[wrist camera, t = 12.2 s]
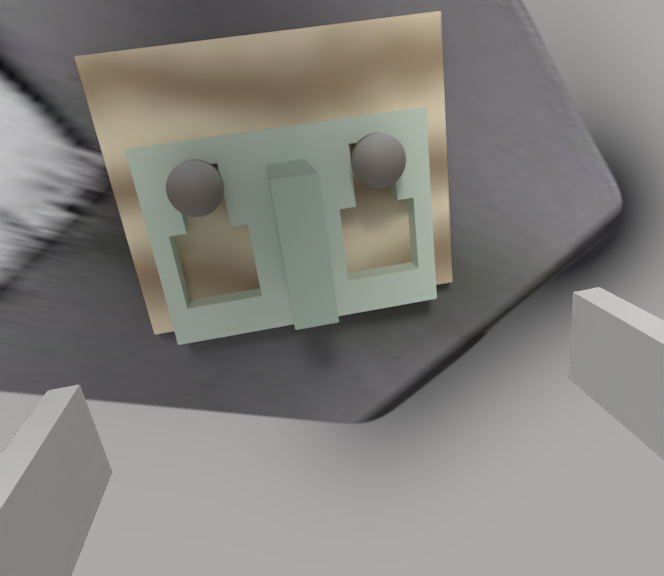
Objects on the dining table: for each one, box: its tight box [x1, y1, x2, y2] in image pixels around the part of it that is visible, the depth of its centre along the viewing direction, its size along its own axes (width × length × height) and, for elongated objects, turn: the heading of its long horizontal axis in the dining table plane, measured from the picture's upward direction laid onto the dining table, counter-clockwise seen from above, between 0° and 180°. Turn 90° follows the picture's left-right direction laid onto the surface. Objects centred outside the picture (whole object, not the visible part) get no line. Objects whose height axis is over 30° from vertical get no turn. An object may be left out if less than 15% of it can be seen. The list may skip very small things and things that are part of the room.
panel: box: [125, 107, 437, 345], centre depth 29 cm, size 13×18×9 cm
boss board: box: [74, 11, 452, 335], centre depth 31 cm, size 18×22×5 cm
